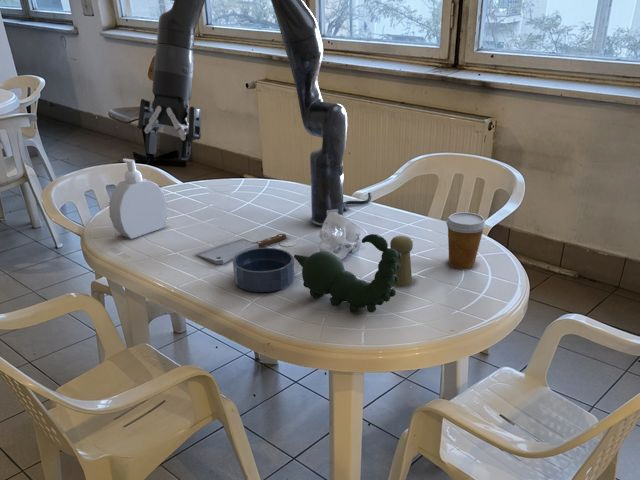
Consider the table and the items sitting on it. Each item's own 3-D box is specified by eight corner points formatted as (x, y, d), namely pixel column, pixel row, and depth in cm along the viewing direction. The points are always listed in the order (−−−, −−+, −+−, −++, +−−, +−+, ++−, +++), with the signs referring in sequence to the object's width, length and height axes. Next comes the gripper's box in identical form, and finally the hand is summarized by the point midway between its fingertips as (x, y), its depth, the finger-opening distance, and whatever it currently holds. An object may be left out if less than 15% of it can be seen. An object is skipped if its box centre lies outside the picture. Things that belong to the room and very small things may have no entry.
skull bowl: (300, 252, 158) (318, 206, 157) (334, 265, 169) (350, 223, 168) (329, 263, 152) (347, 216, 150) (361, 277, 163) (379, 233, 161)
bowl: (243, 266, 154) (241, 246, 151) (299, 269, 153) (298, 249, 150) (227, 292, 142) (225, 270, 139) (287, 295, 141) (286, 273, 138)
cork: (385, 276, 150) (386, 233, 144) (409, 275, 150) (412, 232, 144) (388, 287, 144) (390, 243, 139) (414, 286, 145) (417, 242, 139)
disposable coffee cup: (483, 259, 158) (489, 213, 152) (477, 274, 150) (483, 227, 144) (446, 254, 161) (450, 209, 154) (439, 268, 153) (443, 222, 147)
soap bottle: (159, 221, 182) (148, 152, 171) (171, 225, 179) (160, 155, 168) (112, 237, 171) (97, 165, 160) (124, 242, 168) (109, 168, 158)
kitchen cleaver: (269, 228, 174) (291, 236, 168) (270, 232, 175) (292, 240, 168) (195, 252, 160) (216, 262, 154) (195, 256, 161) (216, 266, 154)
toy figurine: (398, 313, 137) (303, 280, 146) (410, 234, 126) (307, 204, 135) (379, 332, 130) (281, 296, 139) (390, 250, 119) (283, 217, 129)
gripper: (214, 79, 123) (206, 163, 128) (158, 72, 128) (152, 152, 133) (189, 73, 117) (182, 161, 121) (132, 65, 122) (127, 150, 127)
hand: (166, 156), depth 127 cm, fingers open, 8 cm apart
